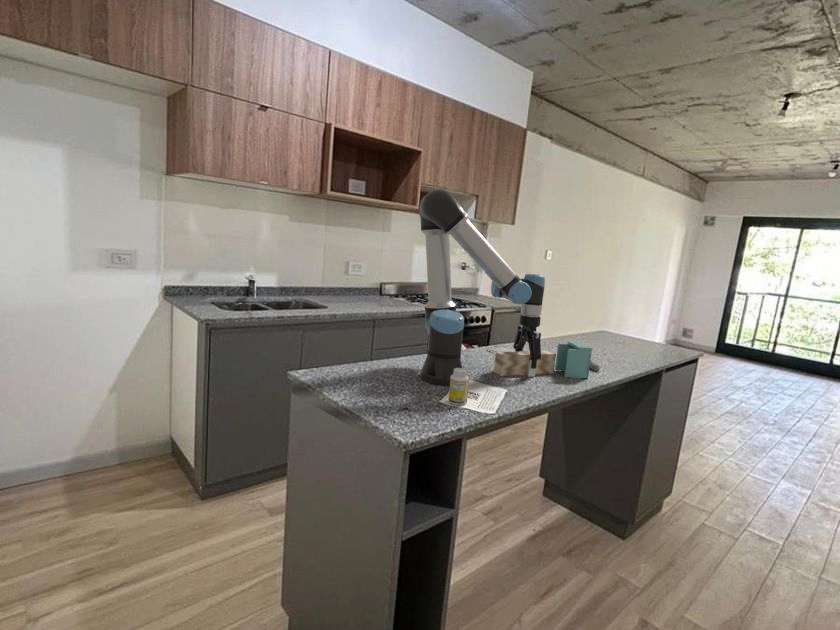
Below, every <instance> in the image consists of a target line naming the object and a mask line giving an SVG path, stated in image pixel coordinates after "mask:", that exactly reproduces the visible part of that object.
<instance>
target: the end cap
mask: <svg viewBox="0 0 840 630" xmlns="http://www.w3.org/2000/svg"><path fill="white" fill-rule="evenodd" d="M592 353H593V348H592V347H591V346H589V345H587V344H585V343H583V342H581V341H567V343H557V349H556V358H555V363H556V364H555V368H554V371H555V370H561V371H560V372H564V378H565V377H571V378H570V379H581V378H588V379H589V373H590V360H591V359H592ZM591 361H592V360H591Z"/></svg>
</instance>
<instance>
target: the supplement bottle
mask: <svg viewBox="0 0 840 630" xmlns="http://www.w3.org/2000/svg"><path fill="white" fill-rule="evenodd" d="M469 380H470V377H469V376H468V370H467V369H466V368H455V369H454V372H453V374H452V375H451V377H450V385H449V388H448V389H449V390H448V402H449V403H450V404H452V405H454V404H455V405H456V406H464V405H466V404H467V402H468V394H469V386H470V385H469V384H470V383H469V382H470V381H469Z"/></svg>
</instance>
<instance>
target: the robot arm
mask: <svg viewBox="0 0 840 630" xmlns="http://www.w3.org/2000/svg"><path fill="white" fill-rule="evenodd" d="M418 205H419V206H418V215H419V217H420V231H421V233H422V234H423V235H424V236H425V254H426V274H427V275H426V276H427V294H428V296H427V297H428V298H427V299H428V301H427V302H426V304H424V322H423V323H424V325H423V326H424V329H425V331H426V333H427V335H428V339H427V340H428V341H427V352H426V353H427V354H426V357H425V359H424V362H423V365H422V367H421V370H420V379H421V380H423V381H425V382H427V383H430V384H434V385H439V386H450V377H451V375H452V374H453V372H454V369H455V368H463V365H462V358H461V357H462V347H463V336H464V327H465V317H464V316H463V315H462V314H461V313H460V312H458V311H457V304H456V302H454V301H453V299H452V278H451V277H452V276H451V275H452V273H451V272H452V271H451V270H452V269H451V251H450V250H451V249H450V247H451V246H450V244H451V243H450V236H451V237H452V238H453V239H454V240H455V241H456V242H457V244H458V245H459V246H460V247H461V248H462V249H463V250H464V252H466V253H467V255H469V257H470V258H471V259H472V260H473V261H474V262H475V263H476V264H477V266H478V267H479V268H480V269H481V270H482V271H483V272H484V273H485V274H486V275H487V277H488V278H490V280H491V285H490V293H491V296H492V297H493V298H498V299H506V300H508V301H510V302H511V303H512V304H517V305H520V314H521V315H520V316H519V325H518V326H517V332H516V336H515V339H514V342H513V346H512V348H513V349H514V351H516V352H518V351H524V348H525V345H526V343H527V344H528V351H530V356H531V358H530V359H529V367H528V375H527V377H528V378H530V377H532V378H533V377H536V374H535V372H536V364H537V360H540V359H541V351H542V349H541V347H542V346H541V336H542V334H541V333H542V332H538V331H537V328H539V327H540V326H541V315H542V310H543V300H544V292H545V287H546V286H545V285H546V276H544V275H543V274H536V273H525V275H524V277H523V278H521V277H520V276H519V275H518V274H517V273H516V272H515V271H514V270H513V269H512V268H511V266H510V265H509V264H508V263H507V262H506V260H505V259H504V258H503V257H502V256H501V255H500V254H499V253H498V252H497V250H496V249H495V248H494V247H493V246H492V245H491V244H490V243H489V242H488V239H486V238H485V237H484V235H482V234H481V233H480V231H479V230H478V229H477V228H476V227H475V225H474V224H473V223H472V222H471V221H470V220H469V219H468V213H467V212H466V211H465V210H464V208H463V207H462V206H461V204H460V203H459V202H458V201H457V199H456V198H455V196H453V194H452V193H450V192H449V191H447V190H445V189H441V188H438V189H437V188H436V189H432V190H430V191H429V192H428V193H427V194H426V195H424V196H423V197H422V199H421V200H420V202H419V204H418ZM463 369H464V368H463Z"/></svg>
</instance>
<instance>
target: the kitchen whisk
mask: <svg viewBox="0 0 840 630" xmlns="http://www.w3.org/2000/svg"><path fill="white" fill-rule="evenodd" d="M589 369H591V370H592V371H594V372H598V373H600V370H601V369H600V366H599V365H597V364H596V363H595V362H594V361H593V360H590V367H589Z"/></svg>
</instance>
